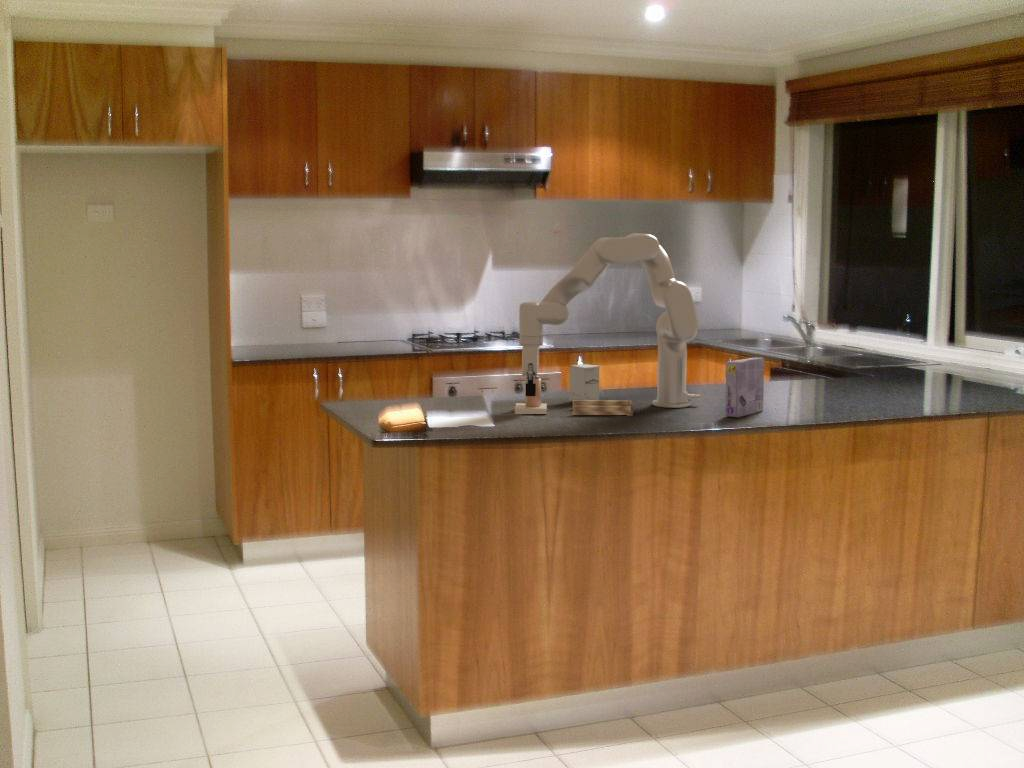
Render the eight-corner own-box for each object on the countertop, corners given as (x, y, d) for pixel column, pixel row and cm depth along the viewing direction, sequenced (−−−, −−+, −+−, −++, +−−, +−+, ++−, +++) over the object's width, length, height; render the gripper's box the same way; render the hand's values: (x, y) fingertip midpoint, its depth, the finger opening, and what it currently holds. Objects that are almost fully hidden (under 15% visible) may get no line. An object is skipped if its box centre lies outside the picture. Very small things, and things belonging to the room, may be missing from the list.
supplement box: (583, 404, 368) (584, 367, 366) (568, 402, 373) (569, 365, 371) (599, 402, 372) (600, 365, 370) (584, 399, 378) (585, 363, 376)
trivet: (546, 409, 358) (546, 403, 358) (546, 414, 349) (546, 408, 348) (516, 409, 359) (516, 403, 359) (514, 414, 349) (514, 408, 349)
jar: (540, 404, 356) (540, 374, 355) (541, 407, 351) (541, 376, 350) (524, 404, 356) (524, 374, 354) (526, 407, 351) (526, 377, 349)
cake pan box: (751, 409, 359) (753, 355, 357) (765, 410, 356) (767, 356, 354) (723, 417, 345) (724, 361, 342) (737, 419, 342) (739, 362, 339)
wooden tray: (630, 409, 358) (631, 400, 357) (633, 416, 346) (633, 406, 346) (572, 409, 359) (572, 400, 358) (572, 415, 347) (573, 406, 347)
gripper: (520, 337, 359) (520, 389, 362) (518, 343, 342) (518, 397, 344) (543, 337, 359) (543, 389, 361) (542, 344, 342) (542, 398, 344)
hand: (531, 393), depth 353 cm, fingers open, 9 cm apart
